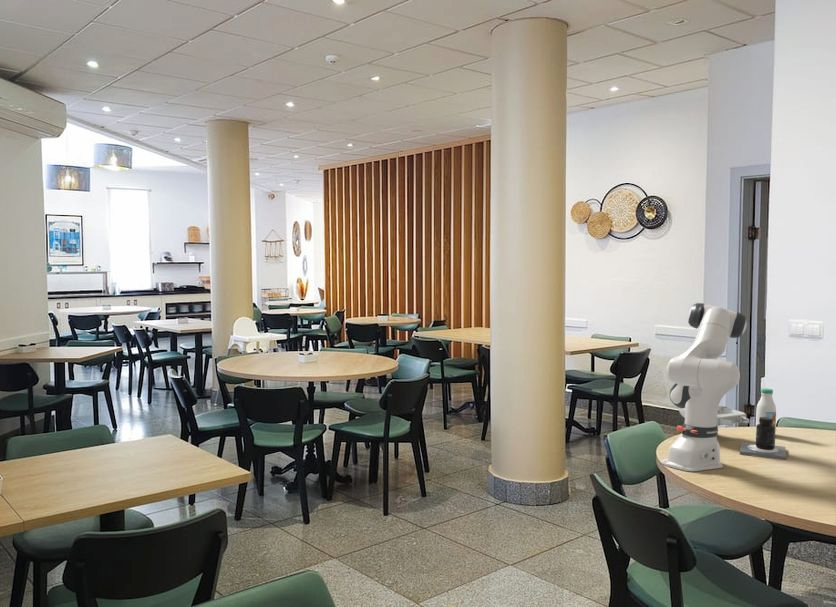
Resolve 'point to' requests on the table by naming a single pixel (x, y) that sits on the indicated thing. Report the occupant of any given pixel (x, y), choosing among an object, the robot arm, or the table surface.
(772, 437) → the supplement bottle
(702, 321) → the robot arm
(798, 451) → the table surface
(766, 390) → the milk bottle
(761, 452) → the charging pad
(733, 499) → the table surface
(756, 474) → the table surface
